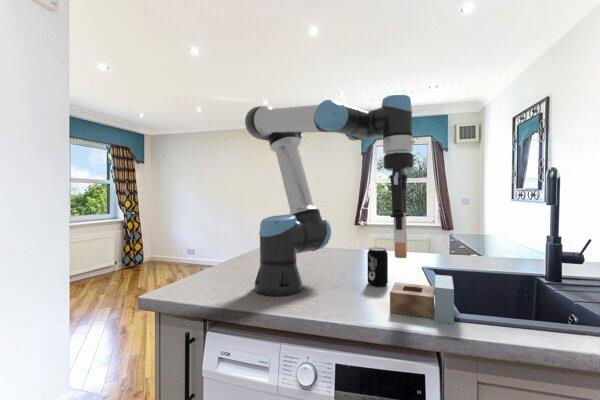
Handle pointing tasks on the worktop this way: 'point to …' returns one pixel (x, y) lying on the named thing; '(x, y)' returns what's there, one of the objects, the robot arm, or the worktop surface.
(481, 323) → the worktop surface
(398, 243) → the dowel
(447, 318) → the wall
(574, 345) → the worktop surface
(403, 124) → the robot arm
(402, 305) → the socket block
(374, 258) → the beverage can
